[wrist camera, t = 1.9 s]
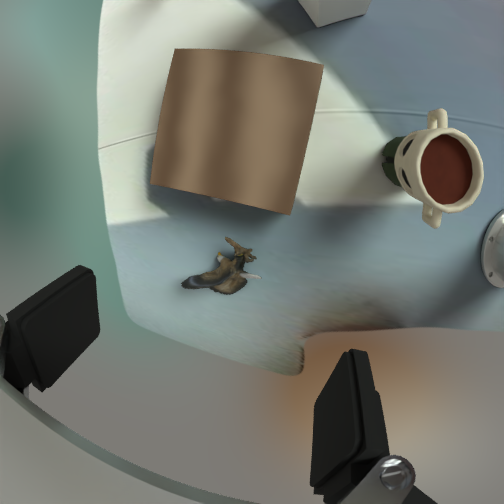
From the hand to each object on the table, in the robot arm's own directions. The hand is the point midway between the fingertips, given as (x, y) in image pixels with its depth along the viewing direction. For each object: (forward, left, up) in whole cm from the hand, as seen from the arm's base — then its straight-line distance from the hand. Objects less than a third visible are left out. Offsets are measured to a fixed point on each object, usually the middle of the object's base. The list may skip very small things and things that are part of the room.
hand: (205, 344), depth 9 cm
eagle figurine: (+5, +10, -28) cm, 30 cm away
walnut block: (+7, -8, -27) cm, 29 cm away
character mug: (-13, -9, -27) cm, 32 cm away
